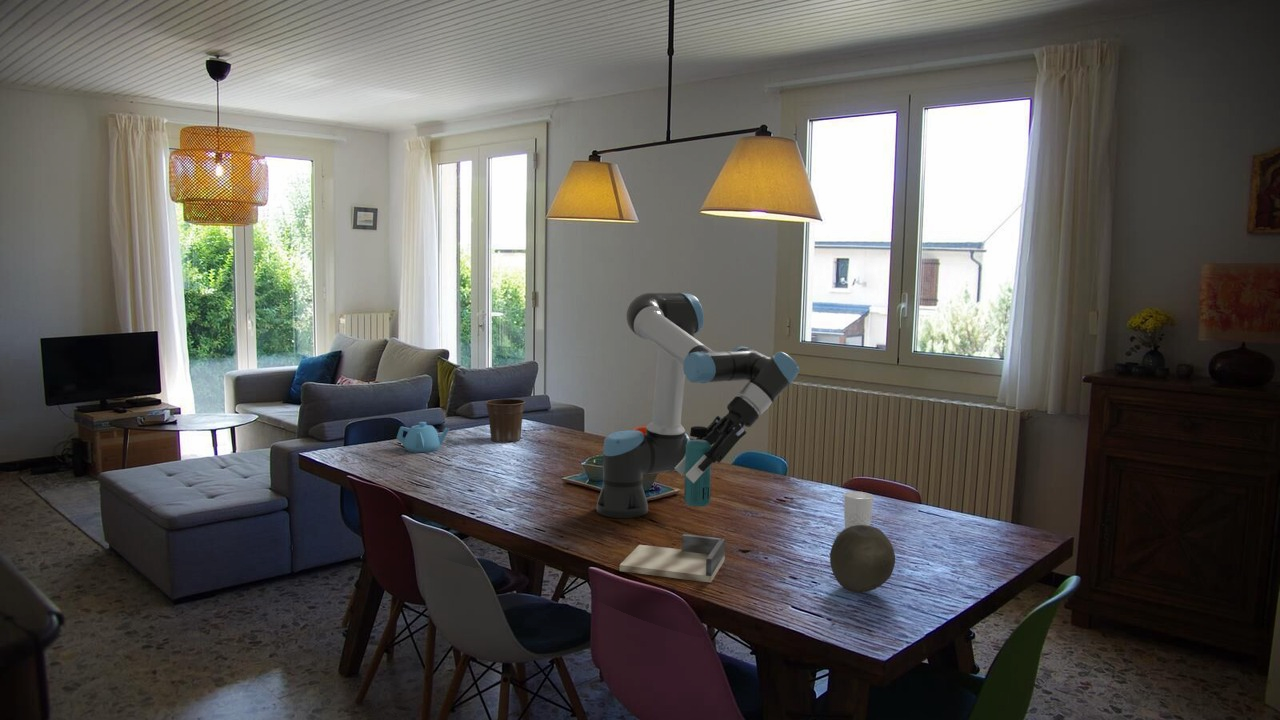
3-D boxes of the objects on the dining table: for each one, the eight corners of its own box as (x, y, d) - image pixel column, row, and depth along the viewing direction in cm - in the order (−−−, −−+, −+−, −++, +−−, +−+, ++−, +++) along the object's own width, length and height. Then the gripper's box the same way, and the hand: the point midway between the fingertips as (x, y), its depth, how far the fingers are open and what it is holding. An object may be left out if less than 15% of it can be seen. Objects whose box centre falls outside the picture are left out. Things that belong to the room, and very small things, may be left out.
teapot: (426, 443, 342) (426, 417, 340) (450, 449, 332) (450, 421, 331) (394, 449, 330) (394, 422, 329) (418, 455, 320) (418, 427, 319)
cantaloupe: (824, 598, 187) (827, 531, 185) (833, 577, 200) (836, 514, 198) (890, 608, 182) (894, 540, 180) (895, 586, 195) (899, 522, 193)
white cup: (855, 535, 232) (857, 500, 231) (836, 527, 239) (838, 493, 238) (877, 532, 236) (879, 497, 235) (858, 524, 243) (859, 490, 242)
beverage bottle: (702, 514, 200) (705, 430, 198) (678, 509, 204) (680, 427, 201) (715, 508, 206) (718, 426, 203) (691, 503, 209) (693, 423, 207)
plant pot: (479, 442, 346) (479, 403, 344) (492, 435, 362) (493, 397, 360) (518, 444, 343) (518, 405, 341) (529, 437, 359) (530, 399, 357)
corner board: (619, 570, 201) (619, 548, 200) (639, 550, 216) (639, 529, 216) (710, 582, 195) (711, 559, 194) (724, 560, 210) (725, 538, 209)
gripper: (776, 423, 198) (709, 496, 194) (741, 409, 216) (679, 476, 213) (756, 401, 196) (688, 474, 192) (722, 389, 214) (660, 456, 211)
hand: (684, 475), depth 203 cm, fingers closed on beverage bottle, 6 cm apart
